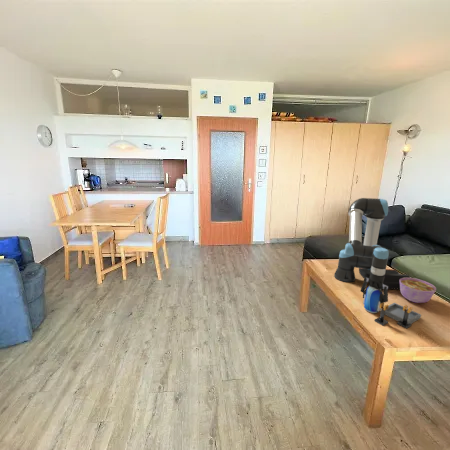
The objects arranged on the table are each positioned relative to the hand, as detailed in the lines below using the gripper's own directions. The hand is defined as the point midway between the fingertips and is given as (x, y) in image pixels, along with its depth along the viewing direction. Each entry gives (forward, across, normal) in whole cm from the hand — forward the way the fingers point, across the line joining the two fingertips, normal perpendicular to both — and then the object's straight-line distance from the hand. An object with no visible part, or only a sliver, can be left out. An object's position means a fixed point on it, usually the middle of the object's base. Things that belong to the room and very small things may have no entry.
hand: (371, 306), depth 159 cm
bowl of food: (+3, +7, +38) cm, 39 cm away
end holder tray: (+2, +12, +10) cm, 16 cm away
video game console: (+3, -18, +47) cm, 50 cm away
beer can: (+3, 0, 0) cm, 3 cm away
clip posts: (+2, +14, -3) cm, 14 cm away
